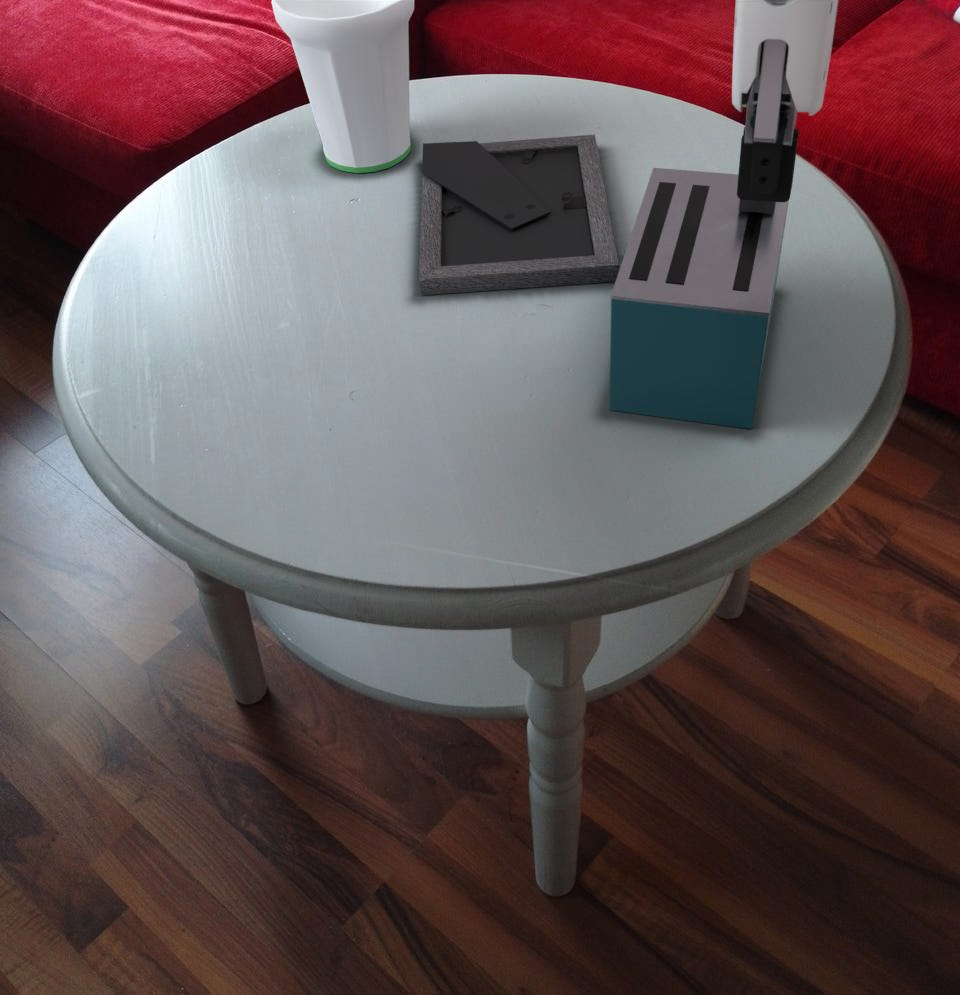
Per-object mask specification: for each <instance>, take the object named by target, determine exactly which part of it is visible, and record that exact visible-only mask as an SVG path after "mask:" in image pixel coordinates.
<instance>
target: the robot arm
mask: <svg viewBox="0 0 960 995" xmlns="http://www.w3.org/2000/svg"><path fill="white" fill-rule="evenodd" d="M838 7H839V0H735V6H734V26H733V45H732V46H733V47H732V48H733V49H732V73H731V75H732V76H731V105H732V106H733V107H734V108H735V109H736V110H737V111H738V112H739V113H742V112H743V110H744V108H746V113H745V126H744V127H743V131H742V132H743V134H742V136H741V139H740V140H741V141H740V151H739V152H740V153H739V161H738V162H739V163H738V186H737V196H738V198H739V199H741V200H754V201H769V202H787V201H788V200H789V201H790V198H791V194H792V189H793V182H794V174H795V167H796V160H797V159H796V157H797V148H798V142H799V133H800V129H799V128H798V129H797V128H796V124H797V118H798V113H808V116H815V115H816V114H817V113H818V112H820V110H821V109H822V107H823V104H824V99H825V93H826V87H827V81H828V74H829V68H830V63H831V56H832V50H833V42H834V35H835V28H836V21H837V15H838V9H839V8H838Z"/></svg>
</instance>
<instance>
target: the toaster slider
mask: <svg viewBox="0 0 960 995" xmlns="http://www.w3.org/2000/svg"><path fill="white" fill-rule="evenodd" d="M775 205H776V202H769V201H754V200H741V199H740V202H739V211H744V212H756V213H767V214H774V211H775Z"/></svg>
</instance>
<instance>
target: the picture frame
mask: <svg viewBox="0 0 960 995" xmlns="http://www.w3.org/2000/svg"><path fill="white" fill-rule="evenodd" d="M421 164H422V165H421V168H422V169H421V173H422V179H421V180H422V181H421V212H420V215H421V216H420V238H419V239H420V241H419V268H418V283H419V290H420V295H421V296H430V295H431V296H433V295H444V294H445V295H447V294H459V293H473V292H487V291H503V290H515V289H528V288H545V287H558V286H570V285H571V286H572V285H573V286H574V285H585V284H586V285H587V284H599V283H612V282H613V283H615V282H616V279H617V276H618V273H619V270H620V268H619V267H620V264H619V259H618V253H617V248H616V243H615V236H614V231H613V225H612V220H611V216H610V215H611V214H610V209H609V204H608V199H607V198H608V197H607V194H606V188H605V182H604V176H603V172H602V171H603V170H602V165H601V161H600V154H599V150H598V144H597V139H596V134H584V135H583V134H582V135H569V136H557V137H545V138H532V139H530V138H529V139H517V140H506V141H492V142H491V141H490V142H478V141H477V140H473V141H470V140H469V141H468V140H467V141H449V142H448V141H445V142H424V143H422V162H421Z"/></svg>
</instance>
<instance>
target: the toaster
mask: <svg viewBox="0 0 960 995" xmlns="http://www.w3.org/2000/svg"><path fill="white" fill-rule="evenodd" d="M738 174H739V173H738ZM738 174H737V173H725V172H711V171H700V170H686V169H675V168H662V167H652V170H651V173H650V177H649V179H648V182H647V185H646V189H645V192H644V195H643V198H642V200H641V204H640V207H639V210H638V213H637V216H636V219H635V221H634V225H633V228H632V231H631V233H630V236H629V240H628V243H627V246H626V249H625V251H624V255H623V258H622V261H621V264H620V266H619V267H620V268H619V273H618V276H617V279H616V281H615V282H614V286H613V287H612V288H613V289H612V291H611V295H610V333H609V334H610V337H609V338H610V340H609V390H608V410H609V411H612V412H620V413H628V414H635V415H636V414H637V415H643V416H650V417H658V418H665V419H674V420H680V421H688V422H693V423H694V422H696V423H702V424H709V425H710V424H711V425H718V426H725V427H733V428H739V429H747V430H752V429H753V425H754V419H755V413H756V407H757V403H758V402H757V401H758V396H759V390H760V384H761V379H762V371H763V365H764V360H765V355H766V347H767V342H768V336H769V331H770V323H771V319H772V318H771V317H772V314H773V312H772V311H773V308H774V307H773V306H774V301H775V300H774V299H775V293H776V287H777V283H778V282H777V281H778V275H779V269H780V261H781V255H782V248H783V243H784V242H783V241H784V236H785V235H784V234H785V228H786V222H787V221H786V220H787V215H788V209H789V202H790V199H789V200H788V201H787V202H776V205H775V211H774V214H767V213H756V212H744V211H739V202H740V199H739V198H738V196H737V186H738Z"/></svg>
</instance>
